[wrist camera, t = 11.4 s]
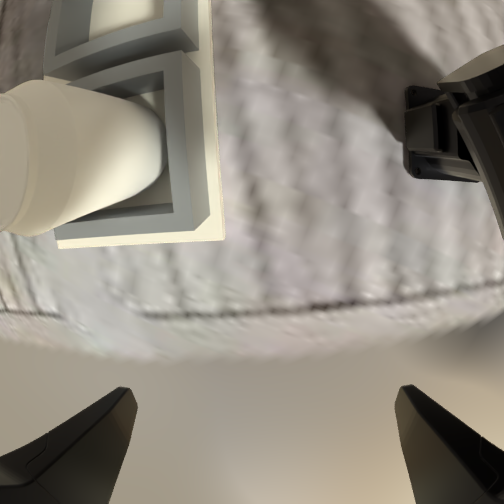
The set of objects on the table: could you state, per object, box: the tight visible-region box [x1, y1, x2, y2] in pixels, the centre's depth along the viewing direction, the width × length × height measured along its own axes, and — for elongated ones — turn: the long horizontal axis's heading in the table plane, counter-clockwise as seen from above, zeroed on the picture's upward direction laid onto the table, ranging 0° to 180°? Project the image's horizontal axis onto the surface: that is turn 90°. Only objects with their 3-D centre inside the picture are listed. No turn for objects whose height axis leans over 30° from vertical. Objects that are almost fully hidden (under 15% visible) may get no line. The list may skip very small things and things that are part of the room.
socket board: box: [43, 0, 226, 249], centre depth 15 cm, size 14×24×5 cm, turn 4°
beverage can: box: [0, 80, 168, 236], centre depth 12 cm, size 6×6×12 cm
